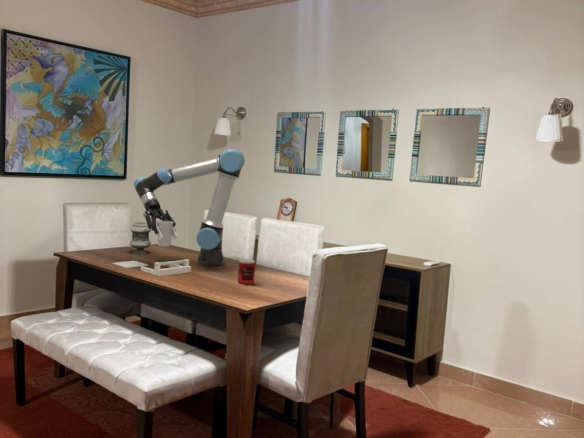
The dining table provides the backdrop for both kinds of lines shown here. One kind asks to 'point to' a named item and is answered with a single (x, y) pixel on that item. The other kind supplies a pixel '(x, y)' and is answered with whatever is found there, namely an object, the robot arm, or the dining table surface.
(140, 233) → the apothecary jar
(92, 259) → the dining table surface
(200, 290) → the dining table surface
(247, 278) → the canned food
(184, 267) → the dispenser bay
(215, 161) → the robot arm
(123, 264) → the mat
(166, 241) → the cup
